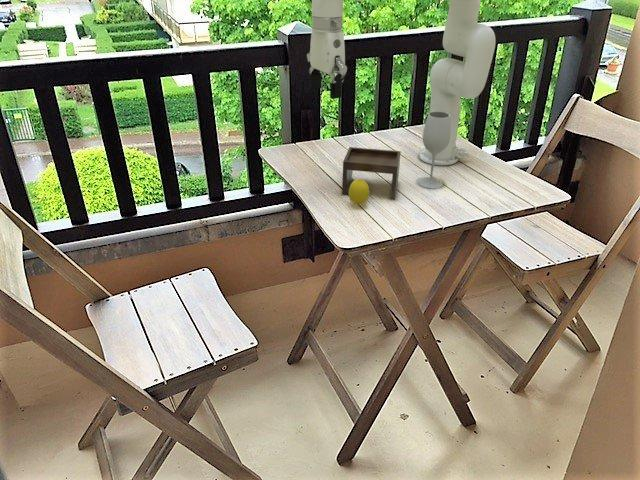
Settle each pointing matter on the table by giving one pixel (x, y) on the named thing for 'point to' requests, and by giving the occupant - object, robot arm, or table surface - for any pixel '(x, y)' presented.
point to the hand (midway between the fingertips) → (325, 93)
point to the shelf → (371, 165)
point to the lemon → (358, 192)
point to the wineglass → (435, 142)
